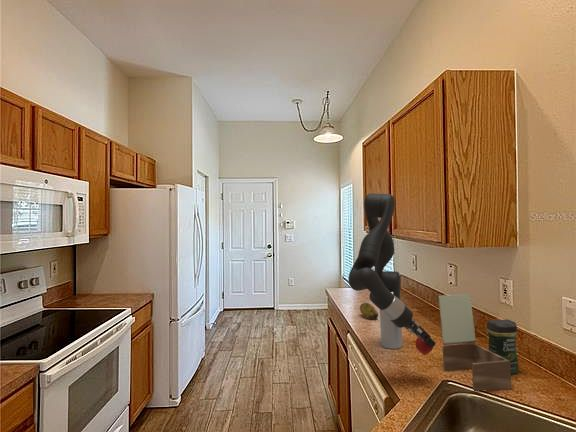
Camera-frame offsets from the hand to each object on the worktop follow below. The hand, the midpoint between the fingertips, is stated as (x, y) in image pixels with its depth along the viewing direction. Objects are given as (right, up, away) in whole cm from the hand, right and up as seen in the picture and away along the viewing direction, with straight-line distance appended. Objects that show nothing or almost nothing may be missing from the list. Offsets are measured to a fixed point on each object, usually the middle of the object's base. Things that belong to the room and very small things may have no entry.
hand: (428, 342), depth 127 cm
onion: (-2, -5, 0) cm, 5 cm away
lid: (+14, +6, +8) cm, 17 cm away
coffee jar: (+29, -12, +5) cm, 32 cm away
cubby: (+16, -12, -1) cm, 20 cm away
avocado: (-3, -15, +82) cm, 84 cm away
